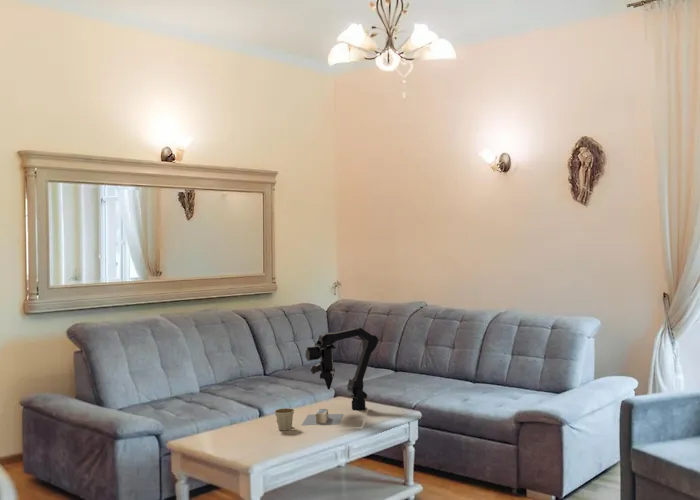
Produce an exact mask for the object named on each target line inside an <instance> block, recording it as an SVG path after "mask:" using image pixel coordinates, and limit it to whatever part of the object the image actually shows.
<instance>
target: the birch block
mask: <svg viewBox="0 0 700 500" xmlns="http://www.w3.org/2000/svg"><path fill="white" fill-rule="evenodd" d="M315 414H316V423H326V422H327V420H328V414H329V408H318V410H317V412H316V413H315Z"/></svg>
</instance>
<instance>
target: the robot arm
mask: <svg viewBox="0 0 700 500" xmlns="http://www.w3.org/2000/svg"><path fill="white" fill-rule="evenodd" d="M354 337H358V338H359V339H361V340H362V343H361V346H362V352H361V355H360V359H359V361H358V364H357V367H356V371H355V374H354V376H353V378H352V379H351V378H349V379H348V384H347V385H346V387H347V392H348V394H349V395H350V396H351V398H352V399H351V409H352V411H366V409H367V407H366V406H367V405H366V404H367V403H366V400H367V398H368V394H367V393H366V392H365V391H364V378H365V374H366V372H367V368H368V366H369V362H370V358H371V355H372V353H374V351H375V350H376V348H377V346H378V344H379V338H378V337H377V336H376V335H374V334H371V333H369V332H368V331H366V330H364V329H363V327H358V326H356V327H354V328H353V327H352V328H350V329H344V330H342V331H336V332H320V334H319V335H318V338H317V341H316V343H315V344H314V346H307V347H306V350H305V359H306V361H308V362H310V361H317V360H318V361H319V359H320V361H319V363H318V364H314V365H312V366H311V367H310V372H311V373H312V375H314V374H316V373H318V372H320V374H319V379H320V380H322V379H323V380H324V382H325V385H326V388H327V390H330V389H331V387H332V383H333V379H334V377H335V372H336V367H335V366H334V359H333V349H334V350H335V349H336V348H337V347H336V346H335V345H334V344H335V343H337V342H338V341H341V340H345V339H350V338H354ZM333 372H334V373H333Z"/></svg>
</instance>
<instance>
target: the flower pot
mask: <svg viewBox="0 0 700 500" xmlns="http://www.w3.org/2000/svg"><path fill="white" fill-rule="evenodd" d="M294 412H295V409H293V408H290V407H289V408H288V407H284V408H277V409H275V410H274V414H275V416H276V422H277V426H278V427H277V428H278V430H279V431H290V430H291V429H292V427H293V417H294V414H295V413H294Z"/></svg>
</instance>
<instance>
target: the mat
mask: <svg viewBox="0 0 700 500" xmlns="http://www.w3.org/2000/svg"><path fill="white" fill-rule="evenodd" d="M343 416H344V413H328V420H327V422H326V423H316V413H315V414H307V415H306V418H304V420H303V422H302V423H301V426H318V425H319V426H329V425H330V426H331V425H333V426H334V425H340V424H341V421H342V419H343Z"/></svg>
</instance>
